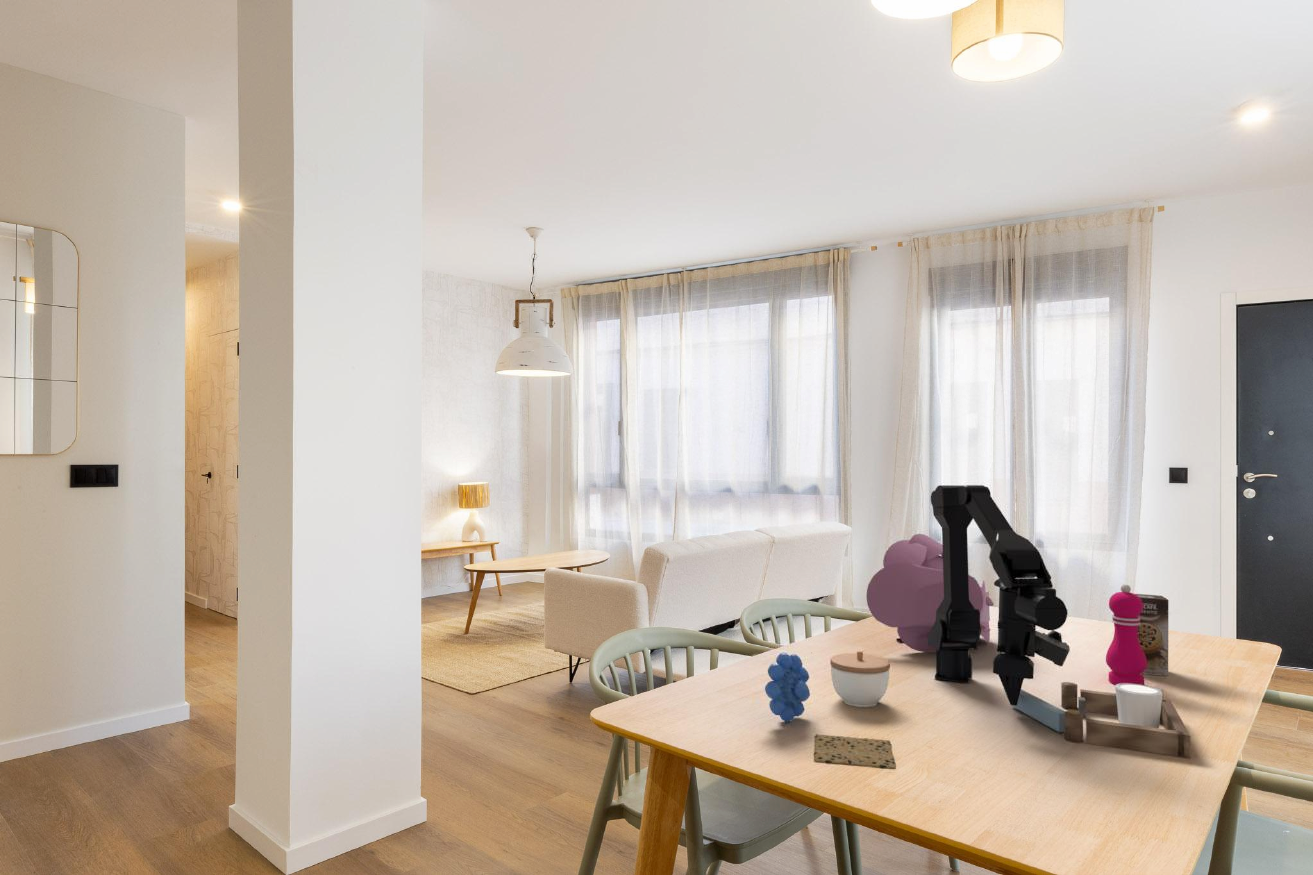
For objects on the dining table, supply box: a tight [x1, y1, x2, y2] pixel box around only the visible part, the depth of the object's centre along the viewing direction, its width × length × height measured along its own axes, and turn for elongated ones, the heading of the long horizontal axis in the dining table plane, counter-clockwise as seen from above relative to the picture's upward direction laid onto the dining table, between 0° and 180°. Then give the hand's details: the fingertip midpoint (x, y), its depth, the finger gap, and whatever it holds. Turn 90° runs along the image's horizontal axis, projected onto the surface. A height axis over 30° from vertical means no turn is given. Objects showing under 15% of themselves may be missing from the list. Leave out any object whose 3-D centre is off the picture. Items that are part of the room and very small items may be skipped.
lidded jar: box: [829, 650, 891, 708], centre depth 146 cm, size 11×11×9 cm
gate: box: [1009, 688, 1065, 733], centre depth 137 cm, size 2×14×3 cm, turn 7°
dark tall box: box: [1115, 592, 1169, 677], centre depth 170 cm, size 9×6×16 cm
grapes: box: [764, 652, 811, 723], centre depth 134 cm, size 12×7×12 cm, turn 136°
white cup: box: [1114, 683, 1163, 729], centre depth 132 cm, size 7×7×7 cm
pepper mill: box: [1105, 584, 1147, 686], centre depth 160 cm, size 7×7×20 cm
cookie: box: [813, 733, 897, 770], centre depth 122 cm, size 12×12×1 cm
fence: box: [1060, 681, 1192, 759], centre depth 133 cm, size 17×21×5 cm
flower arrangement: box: [866, 533, 994, 653], centre depth 194 cm, size 35×24×28 cm
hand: (1013, 704), depth 140 cm, fingers closed
